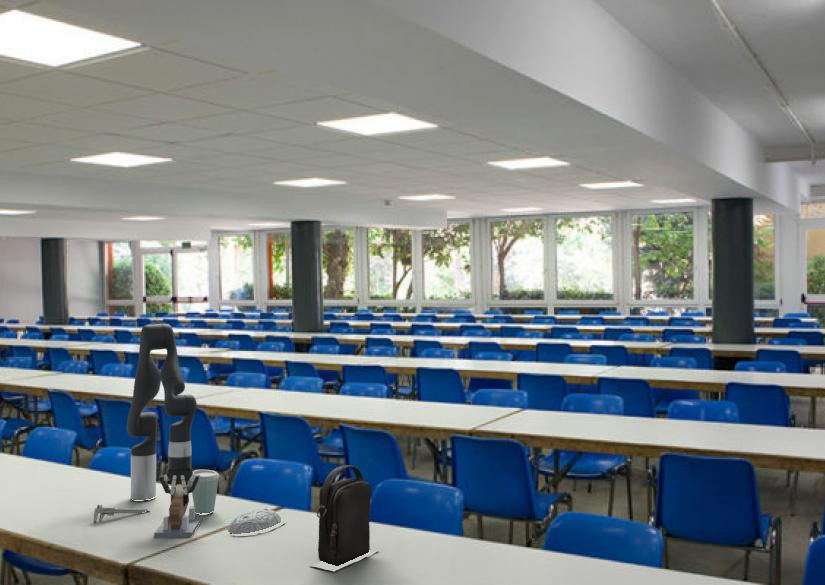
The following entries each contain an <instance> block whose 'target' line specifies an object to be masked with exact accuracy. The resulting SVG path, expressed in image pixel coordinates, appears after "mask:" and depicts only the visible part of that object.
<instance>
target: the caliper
mask: <svg viewBox="0 0 825 585" xmlns="http://www.w3.org/2000/svg"><path fill="white" fill-rule="evenodd" d="M148 510H149V509H147V508H115V507H103V504H97V506H96V507H95V508H94V511H93V523H95V524H96V523H97V521H98V522H99V523H102V522H103V520H104V518H105V515H106V516H108V517H109V516H110V517H111V516H112V517H114V516H115V514H143V513H142V512H145V511H148ZM98 517H99V518H98Z"/></svg>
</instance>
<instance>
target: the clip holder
mask: <svg viewBox="0 0 825 585" xmlns="http://www.w3.org/2000/svg"><path fill="white" fill-rule="evenodd" d="M202 519H203V520H204V515H197V514H196V512H195V506H194V505H193V506H190V507H189V508H188V514H187V515H186V514H185V515H184V516H183V517H182V525H181V528H180V529H172V530H171V528H170V515H164V517H163V522H162V523H161V524H160V525H159V526H158V528H157V529H156V530H155V532H154V533H153V538H154V539H155V538H157V539H158V538H165V539H166V538H187V537H186V536H192V535H193V536H194V535H195V533H196V531H197V530H196V528H197V527H198V525H199V523H200V522H201V520H202ZM203 520H202V521H203ZM201 523H202V522H201ZM201 523H200V524H201ZM199 526H200V525H199ZM198 528H199V527H198ZM198 528H197V529H198ZM195 530H196V531H195ZM194 532H195V533H194ZM193 536H192V537H193Z"/></svg>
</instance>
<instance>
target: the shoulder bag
mask: <svg viewBox="0 0 825 585" xmlns="http://www.w3.org/2000/svg"><path fill="white" fill-rule="evenodd" d="M346 469H350V470H352V471H353V473H354V474H355V478H350V477H349V478H346V479H342V480H338V481H335V482H333V481H334V480H335V478H336V477H337V475H339V473H340V472H342V471H343V470H346ZM322 485H323V486H321V487H320V489H319V494H318V496H319V498H318V500H319V504H318V506H319V508H318V509H317V511H316V517H317V518H318V545H317V546H318V547H317V556H318V560H319V562H320V561H323V562H326V563H328V564H332V565H335V566H339V565H341V564H344V563H346V562H348V561H350V560H353V559H355V558H357V557H359V556H362V555H364V554H366V553H368V552H369V550H371V546H370V544H371V543H370V542H371V541H370V540H371V539H370V537H371V536H370V533H371V531H370V511H371V508H370V507H371V490H372V486H371V484H370V483H369V482H366V481H364V479H363V474H362V473H361V470H360V469H359V468H358V467H357V466H353V465H351V464H349V465H348V464H342V465H340V466H337V467H336V468H334V469H332V470H331V471H330V472H329V473H328V475H327V476H326V477H325V480H324V483H323V484H322Z"/></svg>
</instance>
